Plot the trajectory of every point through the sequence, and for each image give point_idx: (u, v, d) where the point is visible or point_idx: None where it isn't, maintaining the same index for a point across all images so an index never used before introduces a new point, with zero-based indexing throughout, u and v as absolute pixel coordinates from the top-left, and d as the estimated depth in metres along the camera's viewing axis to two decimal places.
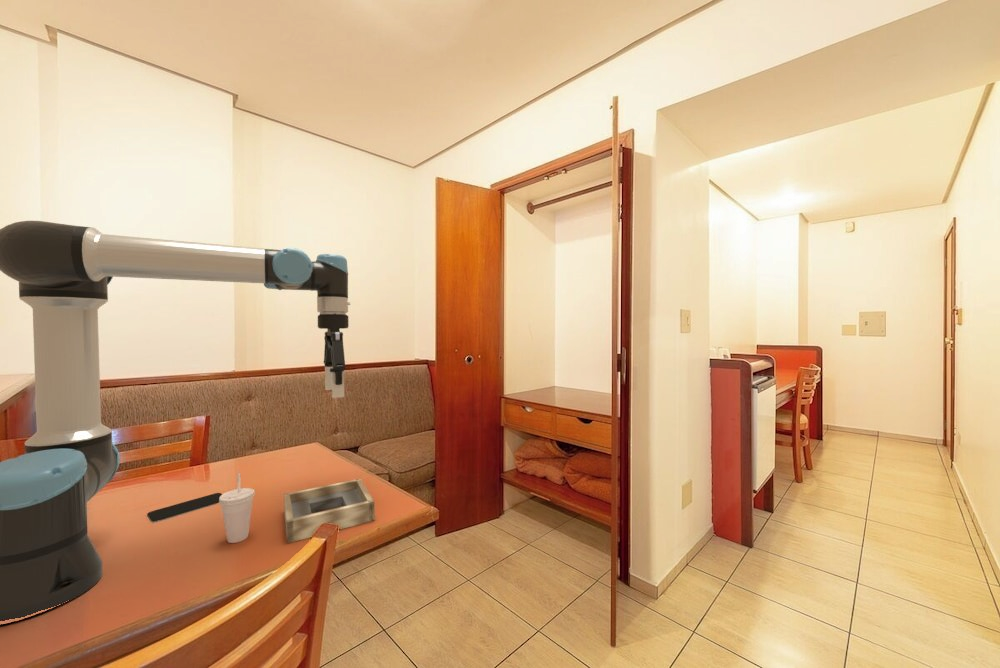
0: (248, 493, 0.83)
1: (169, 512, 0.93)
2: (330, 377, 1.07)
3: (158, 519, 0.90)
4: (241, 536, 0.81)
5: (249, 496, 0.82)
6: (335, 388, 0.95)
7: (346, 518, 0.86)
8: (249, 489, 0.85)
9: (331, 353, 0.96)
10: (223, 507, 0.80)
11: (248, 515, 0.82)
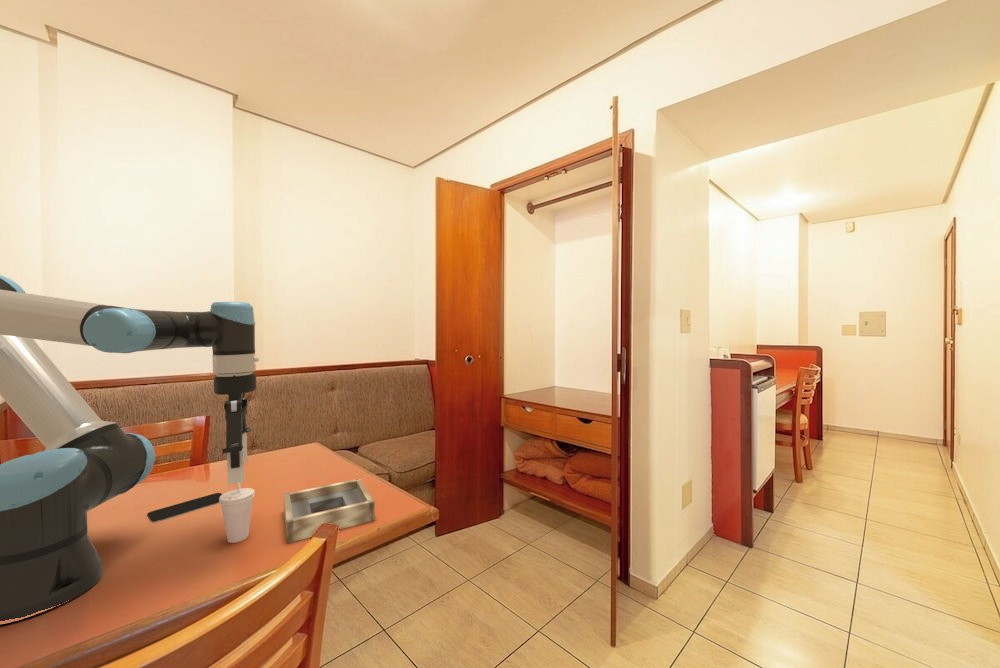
0: (248, 493, 0.83)
1: (169, 512, 0.93)
2: None
3: (158, 519, 0.90)
4: (241, 536, 0.81)
5: (249, 496, 0.82)
6: (231, 472, 0.76)
7: (346, 518, 0.86)
8: (249, 489, 0.85)
9: None
10: (223, 507, 0.80)
11: (248, 515, 0.82)
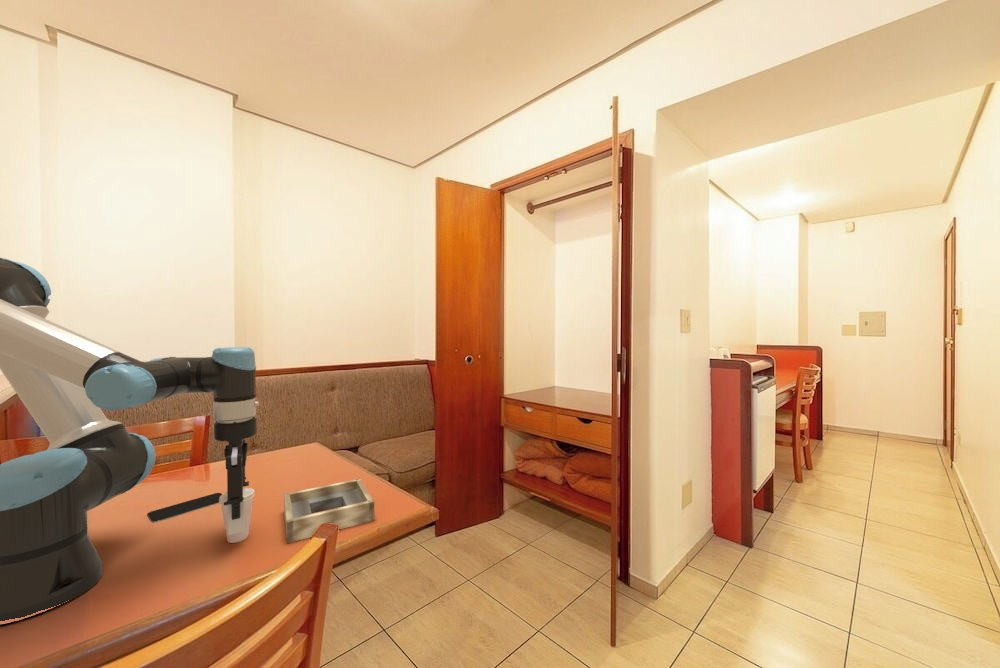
0: (248, 493, 0.83)
1: (169, 512, 0.93)
2: None
3: (158, 519, 0.90)
4: (241, 536, 0.81)
5: (249, 496, 0.82)
6: (232, 523, 0.79)
7: (346, 518, 0.86)
8: (249, 489, 0.85)
9: None
10: (223, 507, 0.80)
11: (248, 515, 0.82)
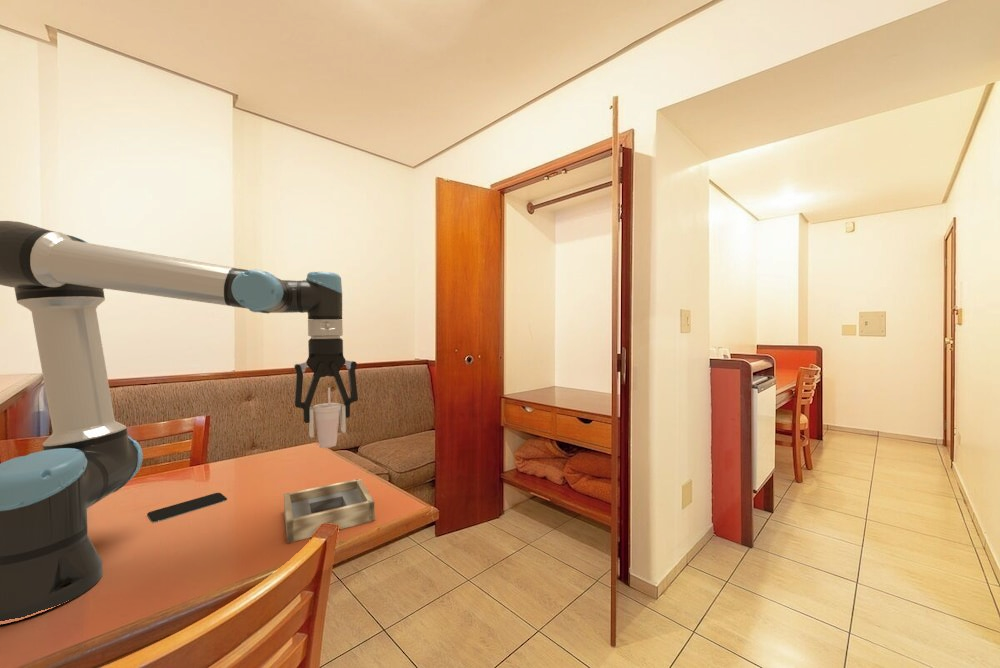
0: (324, 407, 0.89)
1: (169, 512, 0.93)
2: (341, 417, 0.93)
3: (158, 519, 0.90)
4: (319, 442, 0.90)
5: (319, 409, 0.88)
6: (309, 425, 0.90)
7: (346, 518, 0.86)
8: (335, 406, 0.90)
9: (311, 385, 0.90)
10: None
11: (322, 427, 0.89)
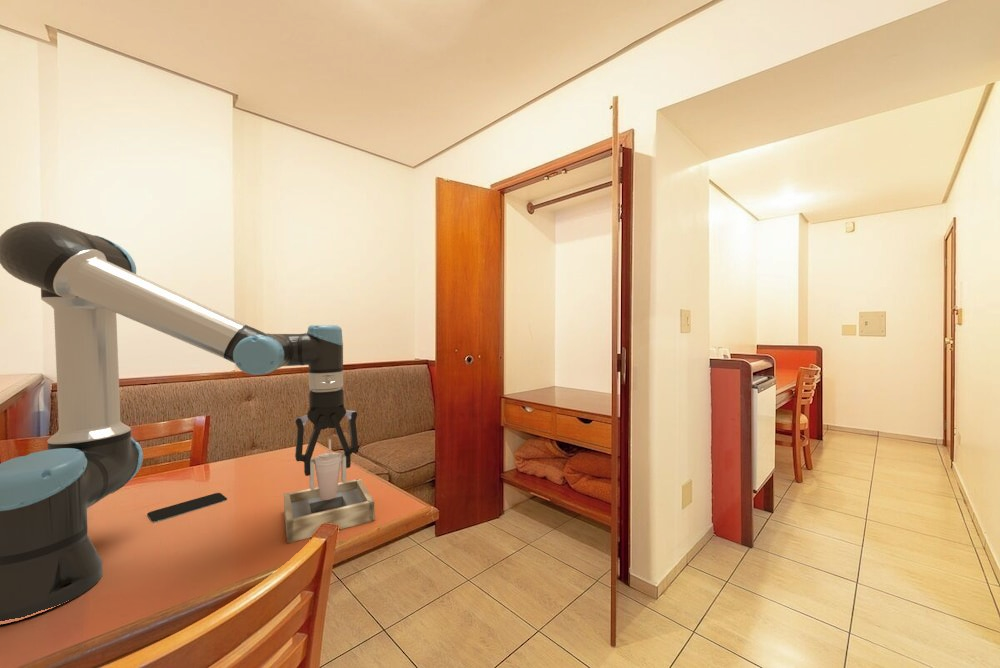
0: (325, 460, 0.89)
1: (169, 512, 0.93)
2: (341, 467, 0.93)
3: (158, 519, 0.90)
4: (320, 494, 0.90)
5: (319, 462, 0.88)
6: None
7: (346, 518, 0.86)
8: (335, 458, 0.90)
9: (311, 437, 0.91)
10: None
11: (323, 480, 0.89)
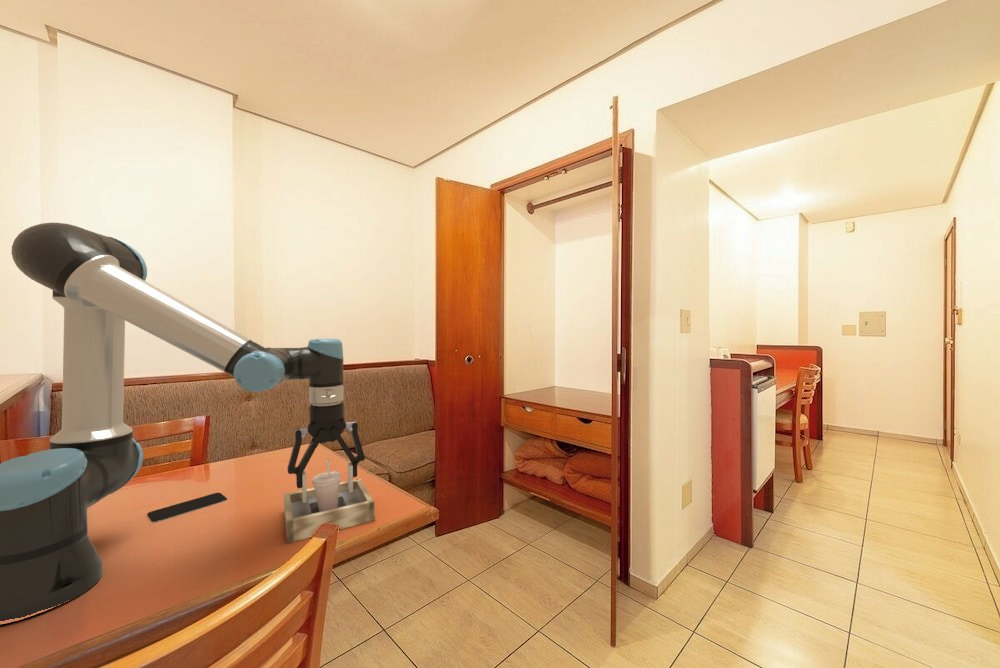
0: (324, 480, 0.89)
1: (169, 512, 0.93)
2: (348, 476, 0.94)
3: (158, 519, 0.90)
4: None
5: (318, 483, 0.88)
6: (302, 490, 0.89)
7: (346, 518, 0.86)
8: (334, 478, 0.90)
9: None
10: None
11: (322, 500, 0.89)
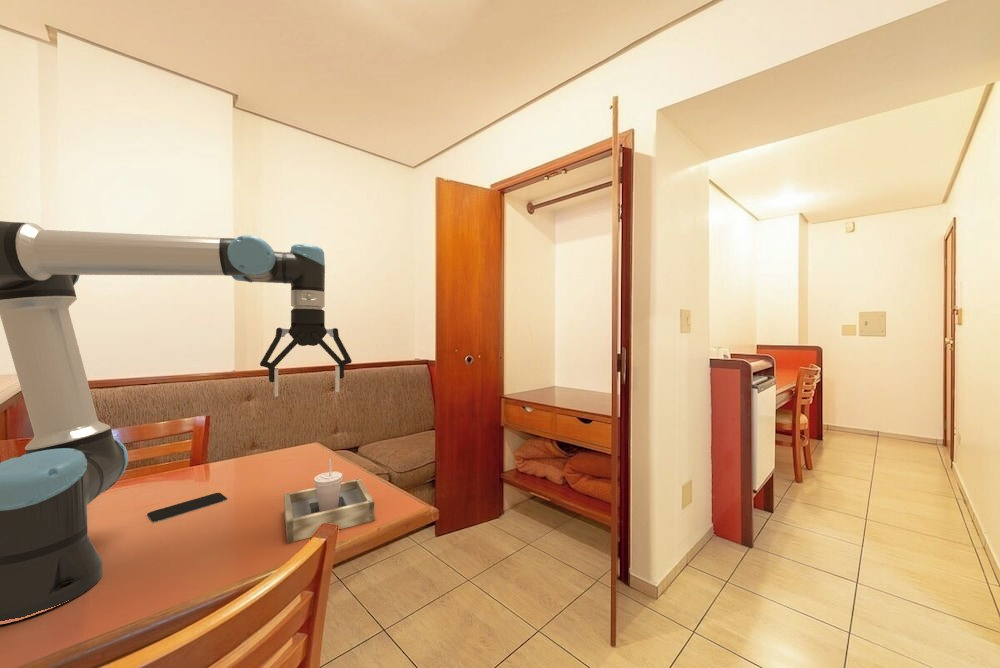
0: (325, 480, 0.89)
1: (169, 512, 0.93)
2: (335, 377, 0.98)
3: (158, 519, 0.90)
4: None
5: (320, 483, 0.89)
6: None
7: (346, 518, 0.86)
8: (336, 478, 0.90)
9: None
10: None
11: (323, 500, 0.89)
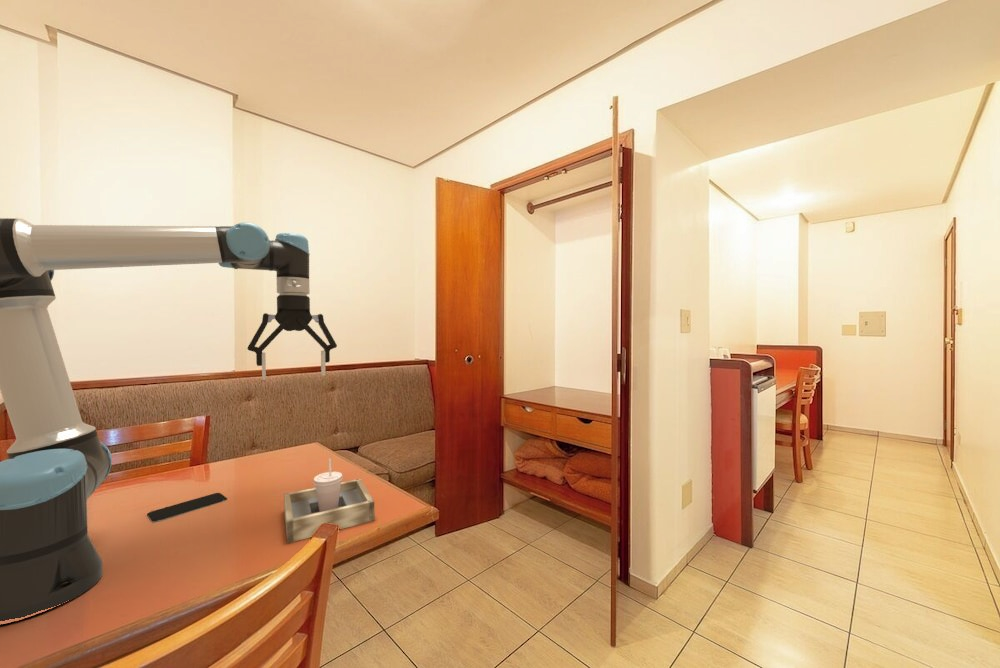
0: (325, 480, 0.89)
1: (169, 512, 0.93)
2: (321, 362, 1.02)
3: (159, 519, 0.90)
4: None
5: (320, 482, 0.89)
6: None
7: (346, 518, 0.86)
8: (335, 478, 0.90)
9: None
10: None
11: (323, 500, 0.89)
